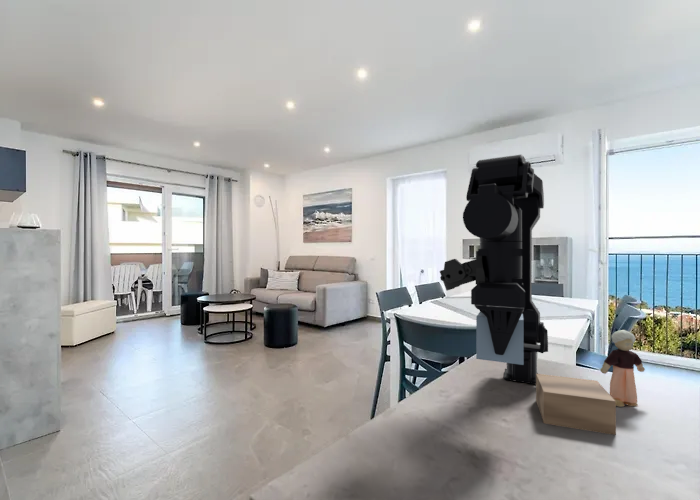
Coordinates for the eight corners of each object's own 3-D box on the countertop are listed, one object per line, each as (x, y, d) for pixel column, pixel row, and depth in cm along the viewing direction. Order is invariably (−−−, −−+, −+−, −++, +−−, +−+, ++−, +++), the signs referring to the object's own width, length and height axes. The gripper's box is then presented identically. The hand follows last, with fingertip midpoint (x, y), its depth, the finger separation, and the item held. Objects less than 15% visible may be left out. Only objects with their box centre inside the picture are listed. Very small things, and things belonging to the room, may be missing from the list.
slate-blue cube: (480, 349, 55) (480, 310, 55) (522, 354, 52) (522, 313, 52) (476, 358, 49) (476, 316, 49) (523, 364, 47) (523, 320, 47)
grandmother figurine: (619, 410, 57) (618, 333, 58) (597, 401, 61) (596, 328, 61) (653, 405, 59) (652, 331, 60) (629, 396, 63) (629, 326, 63)
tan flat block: (536, 402, 61) (536, 373, 61) (597, 411, 58) (597, 380, 58) (543, 424, 53) (543, 391, 53) (615, 436, 49) (615, 401, 49)
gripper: (454, 245, 63) (453, 331, 63) (431, 239, 46) (430, 358, 46) (522, 244, 58) (522, 338, 58) (525, 238, 41) (525, 370, 41)
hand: (500, 349), depth 51 cm, fingers closed on slate-blue cube, 6 cm apart
